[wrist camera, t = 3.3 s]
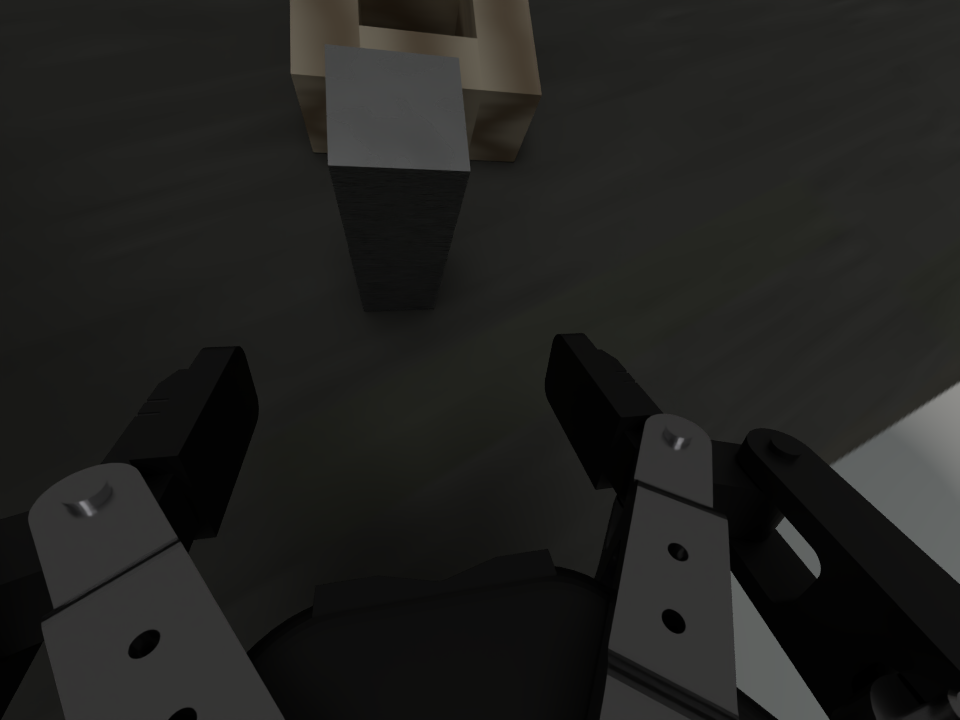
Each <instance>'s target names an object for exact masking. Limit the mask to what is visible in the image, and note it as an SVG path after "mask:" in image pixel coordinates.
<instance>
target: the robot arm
mask: <svg viewBox="0 0 960 720" xmlns="http://www.w3.org/2000/svg"><path fill="white" fill-rule="evenodd" d="M545 392H546V397H547V399H548V402H549V403H550V405H551V407H552V409H553V411H554V413H555V415H556V417H557V418H558V420H559V422H560V424H561V426H562V428H563V430H564V432H565V433H566V435H567V437H568V439H569V441H570V443H571V445H572V446H573V448H574V450H575V452H576V454H577V456H578V458H579V460H580V461H581V463H582V465H583V467H584V469H585V471H586V473H587V475H588V476H589V478H590V480H591V482H592V484H593V486H594V488H595V489H596V490H598V489H605V488H614V490H615V492H616V493H617V495H616V497H615V500H614V503H613V507H612V511H611V515H610V519H609V523H608V528H607V532H606V536H605V540H604V544H603V549H602V553H601V557H600V561H599V565H598V568H597V572H596V575H595V578H592V577H590V576H588V575H585V574H582V573H580V572H577V571H574V570H570V569H566V568H562V567H555V566H554V564H553V562H552V559H551V556H550V553H549V551H548V549H544V550H538V551H531V552H525V553H519V554H513V555H506V556H500V557H495V558H493V559H491V560H488V561H486V562H484V563H482V564H479V565H477V566H475V567H473V568H470V569H468V570H466V571H464V572H462V573H459V574H457V575H455V576H453V577H450V578H448V579H446V580H443V581H427V580H417V579H406V578H396V577H386V576H373V577H367V578H361V579H354V580H348V581H342V582H335V583H329V584H323V585H317V586H316V588H315V596H314V604H313V606H312V607H310V608H308V609H305V610H303V611H301V612H300V613H298V614H296V615H294V616H292V617H291V618H289V619H287V620H286V621H284V622H283V623H281V624H280V625H279V626H277V627H276V628H274V629H273V630H271V631H270V632H269V633H268V634H267V635H265V636H264V637H263V638H262V639H261V640H260V641H258V642H257V643H256V644H255V645H254V646H253V647H252V648H251V649H250V650H249V651H248V652H247V653H246V652H245V651H244V649H243V647H242V645H241V644H240V642H239V640H238V639H237V637H236V635H235V633H234V632H233V630H232V628H231V627H230V625H229V623H228V621H227V620H226V618H225V616H224V615H223V613H222V611H221V610H220V608H219V606H218V604H217V603H216V601H215V599H214V598H213V596H212V594H211V592H210V591H209V589H208V587H207V586H206V584H205V582H204V580H203V579H202V577H201V575H200V574H199V572H198V570H197V569H196V567H195V565H194V563H193V562H192V560H191V558H190V557H189V555H188V552H189V550H190V547H191V545H192V542H193V540H197V539H205V538H213V537H216V536H217V534H218V531H219V528H220V525H221V522H222V519H223V517H224V514H225V511H226V508H227V505H228V503H229V500H230V497H231V494H232V491H233V488H234V486H235V483H236V480H237V477H238V474H239V471H240V469H241V466H242V463H243V460H244V457H245V454H246V452H247V449H248V446H249V443H250V440H251V438H252V435H253V432H254V429H255V426H256V423H257V420H258V412H259V405H258V398H257V394H256V390H255V387H254V384H253V380H252V377H251V373H250V370H249V366H248V363H247V359H246V356H245V353H244V351H243V349H242V348H241V347H240V346H233V347H208V348H203V349H202V350H201V351H200V352H199V354H198V355H197V357H196V358H195V360H194V361H193V363H192V364H191V366H190V368H189V369H184V370H178V371H176V372H175V373H174V374H172V375H171V376H169V377H168V378H166V379H165V380H164V381H162V382H161V383H159V384H158V386H157V387H156V388H155V390H154V391H153V393H152V394H151V395H150V397H149V398H148V399H147V401H148V402H147V403H145V404H144V405H143V406H142V408H141V409H140V410H139V412H138V417H134V419H133V420H132V422H131V423H130V424H129V426H128V427H127V428H126V430H125V431H124V433H123V434H122V435H121V437H120V438H119V440H118V441H117V442H116V444H115V445H114V446H113V448H112V449H111V451H110V452H109V453H108V455H107V456H106V457H105V459H104V460H103V462H102V463H101V464H100V465H97V466H93V467H90V468H86V469H84V470H81V471H78V472H76V473H74V474H72V475H70V476H68V477H66V478H64V479H62V480H61V481H59V482H58V483H56V484H55V485H53V486H52V487H50V488H49V489H48V490H47V491H45V492H44V493H43V494H42V495H41V496H40V497H39V498H38V499H37V500H36V502H35V503H34V504H33V506H32V508H31V510H30V511H28V512H24V513H21V514H18V515H14V516H11V517H8V518H4V519H1V520H0V720H1V718H2V717H3V715H4V713H5V711H6V709H7V707H8V705H9V704H10V702H11V700H12V698H13V696H14V694H15V692H16V691H17V689H18V687H19V685H20V683H21V681H22V679H23V678H24V676H25V674H26V672H27V670H28V668H29V666H30V665H31V663H32V661H33V659H34V657H35V655H36V653H37V651H38V650H39V648H40V646H41V644H42V642H43V641H45V644H46V647H47V651H48V655H49V659H50V663H51V666H52V670H53V674H54V678H55V682H56V685H57V689H58V693H59V697H60V700H61V704H62V708H63V712H64V716H65V719H66V720H778V719H777V718H775V717H774V716H773V715H772V714H770V713H769V712H768V711H766V710H765V709H764V708H763V707H761V706H760V705H759V704H758V703H756V702H755V701H754V700H753V699H751V698H750V697H749V696H747V695H746V694H745V693H744V692H742V691H741V690H740V689H738V688H737V687H736V670H735V653H734V652H735V651H734V631H733V613H732V593H731V575H730V570H731V571H732V573H733V575H734V576H735V578H736V579H737V580H738V582H739V584H740V585H741V586H742V588H743V590H744V591H745V592H746V594H747V596H748V597H749V599H750V600H751V602H752V603H753V605H754V606H755V608H756V609H757V611H758V612H759V614H760V615H761V617H762V618H763V620H764V621H765V623H766V624H767V626H768V627H769V629H770V630H771V632H772V633H773V635H774V636H775V638H776V639H777V641H778V642H779V644H780V645H781V647H782V648H783V650H784V651H785V653H786V654H787V656H788V657H789V659H790V660H791V662H792V663H793V665H794V666H795V668H796V669H797V671H798V673H799V674H800V675H801V677H802V678H803V680H804V682H805V683H806V685H807V686H808V688H809V689H810V690H811V692H812V693H813V695H814V697H815V698H816V700H817V701H818V703H819V704H820V705H821V707H822V709H823V710H824V712H825V713H826V715H827V716H828V718H829V719H830V720H960V584H959V583H958V582H957V581H956V580H954V579H953V578H952V577H951V576H950V575H949V574H948V573H947V572H946V571H945V570H943V569H942V568H941V567H940V566H939V565H938V564H937V563H936V562H935V561H933V560H932V559H931V558H930V557H929V556H928V555H927V554H926V553H925V552H924V551H922V550H921V549H920V548H919V547H918V546H917V545H916V544H915V543H914V542H912V541H911V540H910V539H909V538H908V537H907V536H906V535H905V534H904V533H902V532H901V531H900V530H899V529H898V528H897V527H896V526H895V525H894V524H893V523H892V522H890V521H889V520H888V519H887V518H886V517H885V516H884V515H883V514H882V513H881V512H879V511H878V510H877V509H876V508H875V507H874V506H873V505H872V504H871V503H870V502H868V501H867V500H866V499H865V498H864V497H863V496H862V495H861V494H860V493H858V492H857V491H856V490H855V489H854V488H853V487H852V486H851V485H850V484H848V483H847V482H846V481H845V480H844V479H843V478H842V477H841V476H839V474H838V473H836V472H835V471H834V470H833V469H832V468H831V467H830V466H829V465H828V464H827V463H825V462H824V461H823V460H822V459H821V458H820V457H819V456H818V455H817V454H815V453H814V452H813V451H812V450H811V449H810V448H809V447H807V446H806V445H805V444H803V443H802V442H801V441H799V440H797V439H795V438H794V437H792V436H790V435H787V434H785V433H782V432H779V431H776V430H772V429H765V428H759V429H754V430H752V431H750V432H749V433H748V435H747V436H746V438H745V440H744V441H743V443H742V445H741V444H734V443H728V442H721V441H714V440H710V438H709V437H708V435H707V434H706V433H705V432H704V431H703V430H702V429H701V428H700V427H699V426H697V425H696V424H694V423H693V422H691V421H689V420H687V419H685V418H682V417H679V416H675V415H671V414H663V412H662V411H661V410H660V409H659V408H658V407H657V405H656V404H655V403H654V402H653V401H652V400H651V399H650V397H649V396H648V395H647V394H646V393H645V392H644V390H643V389H642V388H641V387H640V386H639V385H638V383H635V380H634V379H633V378H632V376H631V375H630V374H629V373H627V372H626V370H625V368H624V367H623V366H622V365H621V364H620V363H619V361H618V360H617V359H616V358H614V357H612V356H611V355H609V354H608V353H606V352H604V351H603V350H597V348H596V347H595V346H594V345H593V343H592V342H591V341H590V340H589V339H588V337H587V336H586V335H585V334H583V333H575V334H557V335H556V336H555V337H554V340H553V343H552V348H551V353H550V358H549V363H548V368H547V373H546V378H545ZM784 517H786V518H787V519H788V521H789V522H790V523H791V524H792V525H793V526H794V527H795V529H796V530H797V531H798V532H799V533H800V534H801V535H802V537H804V539H805V540H806V541H807V542H808V544H809V545H810V546H811V547H812V548H813V549H814V551H815V552H816V554H817V556H818V558H819V561H820V565H821V573H820V576H819V577H818V578H817V579H816V577H815V576H814V575H813V574H812V572H811V571H810V570H809V569H808V568H807V566H806V565H805V564H804V563H803V562H802V560H801V559H800V558H799V557H798V556H797V554H796V553H795V552H794V551H793V549H792V548H791V547H790V546H789V545H788V543H787V542H786V541H785V540H784V539H783V538H782V536H781V535H780V534H779V533H778V531H777V530H776V529H775V528H776V527H777V526H778V524H779V523H780V522H781V521H782V519H783V518H784Z"/></svg>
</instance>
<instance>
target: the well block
mask: <svg viewBox="0 0 960 720" xmlns="http://www.w3.org/2000/svg"><path fill="white" fill-rule="evenodd" d="M324 44H329V45H339V46H348V47H358V48H368V49H378V50H388V51H397V52H407V53H417V54H427V55H437V56H447V57H456V58H459V64H460V73H461V83H462V93H463V103H464V112H465V122H466V132H467V142H468V151H469V160H484V161H505V162H514V161H515V159H516V156H517V154H518V151H519V149H520V146H521V144H522V142H523V139H524V137H525V134H526V132H527V129H528V127H529V125H530V122H531V120H532V117H533V115H534V112H535V110H536V108H537V105H538V103H539V100H540V98H541V95H542V94H541V87H540V80H539V73H538V67H537V60H536V53H535V46H534V39H533V32H532V25H531V18H530V11H529V4H528V0H290V45H291V76H292V80H293V83H294V87H295V90H296V94H297V97H298V101H299V104H300V107H301V111H302V114H303V118H304V121H305V125H306V128H307V132H308V135H309V139H310V142H311V146H312V149H313V152H317V153H328V146H327V113H326V80H325V46H324Z"/></svg>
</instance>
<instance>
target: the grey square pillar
mask: <svg viewBox="0 0 960 720" xmlns="http://www.w3.org/2000/svg"><path fill="white" fill-rule="evenodd" d="M324 46H325V80H326V113H327V146H328V167H329V171H330V175H331V179H332V183H333V187H334V191H335V195H336V200H337V204H338V208H339V212H340V216H341V220H342V224H343V228H344V232H345V236H346V240H347V244H348V248H349V252H350V257H351V261H352V265H353V269H354V273H355V277H356V281H357V285H358V289H359V293H360V297H361V301H362V305H363V309H364V311H390V310H424V309H434V306H435V302H436V298H437V294H438V291H439V287H440V283H441V279H442V276H443V272H444V268H445V265H446V261H447V257H448V253H449V250H450V246H451V242H452V238H453V235H454V231H455V227H456V224H457V220H458V216H459V212H460V209H461V205H462V201H463V197H464V194H465V190H466V186H467V183H468V179H469V175H470V161H469V151H468V142H467V132H466V122H465V112H464V103H463V93H462V83H461V73H460V64H459V58H456V57H447V56H437V55H427V54H417V53H407V52H397V51H388V50H378V49H368V48H358V47H348V46H339V45H329V44H324Z"/></svg>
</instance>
